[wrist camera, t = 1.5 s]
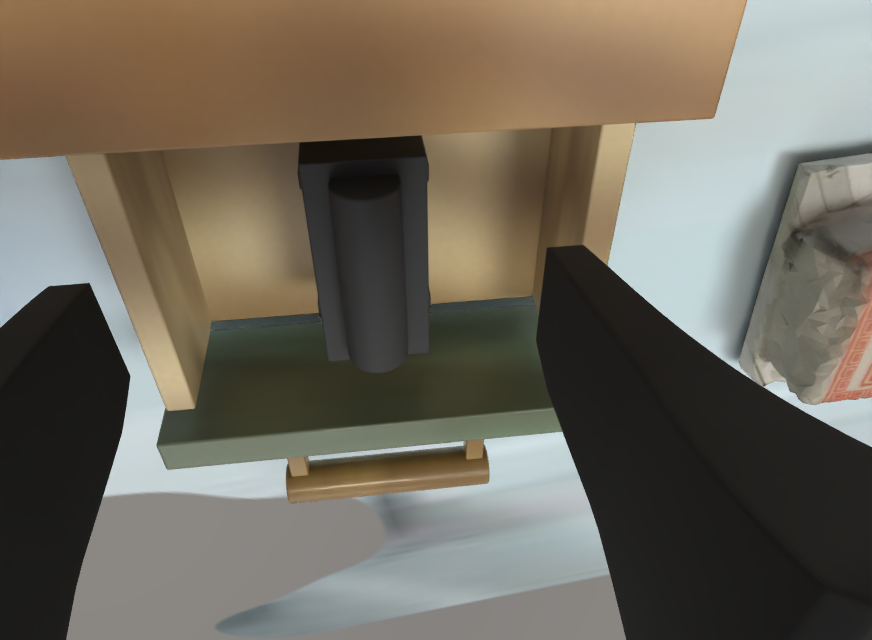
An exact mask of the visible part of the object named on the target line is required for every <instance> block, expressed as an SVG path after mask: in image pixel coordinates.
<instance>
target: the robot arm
mask: <svg viewBox="0 0 872 640" xmlns="http://www.w3.org/2000/svg"><path fill="white" fill-rule="evenodd" d="M536 343H537V348H538V352H539V357H540V361H541V366H542V370H543V374H544V378H545V382H546V386H547V390H548V394H549V396H550V399H551V402H552V405H553V407H554V410H555V413H556V415H557V418H558V421H559V423H560V426H561V429H562V432H563V434H564V437H565V439H566V442H567V445H568V447H569V450H570V453H571V455H572V458H573V460H574V463H575V466H576V468H577V471H578V474H579V476H580V479H581V482H582V484H583V487H584V489H585V492H586V495H587V497H588V500H589V503H590V506H591V509H592V512H593V515H594V518H595V521H596V524H597V527H598V530H599V534H600V537H601V541H602V545H603V549H604V553H605V556H606V560H607V564H608V568H609V572H610V575H611V579H612V583H613V587H614V591H615V595H616V599H617V603H618V607H619V611H620V615H621V620H622V624H623V627H624V632H625V636H626V640H872V447H870V446H868V445H866V444H864V443H862V442H860V441H858V440H856V439H854V438H852V437H850V436H848V435H846V434H844V433H843V432H841V431H839V430H837V429H835V428H833V427H831V426H830V425H828V424H826V423H824V422H822V421H820V420H818V419H817V418H815V417H813V416H811V415H809V414H807V413H805V412H804V411H802V410H800V409H798V408H797V407H795V406H793V405H792V404H790V403H788V402H786V401H785V400H783V399H781V398H780V397H778V396H776V395H775V394H773V393H772V392H770V391H769V390H767V389H765V388H764V387H762V386H761V385H759V384H758V383H756V382H754V381H753V380H751V379H750V378H748V377H747V376H745V375H743V374H742V373H740V372H739V371H737V370H736V369H734V368H733V367H731V366H730V365H729V364H727V363H726V362H724V361H723V360H721V359H720V358H719V357H717V356H716V355H715V354H713V353H712V352H711V351H709V350H708V349H707V348H705V347H704V346H702V345H701V344H700V343H698V342H697V341H696V340H694V339H693V338H692V337H690V336H689V335H688V334H687V333H685V332H684V331H683V330H681V329H680V328H679V327H678V326H676V325H675V324H674V323H673V322H671V321H670V320H669V319H668V318H667V317H665V316H664V315H663V314H662V313H660V312H659V311H658V310H657V309H656V308H655V307H653V306H652V305H651V304H650V303H649V302H647V301H646V300H645V299H644V298H643V297H642V296H641V295H639V294H638V293H637V292H636V291H635V290H634V289H633V288H631V287H630V286H629V285H628V284H627V283H626V282H625V281H624V280H622V279H621V278H620V277H619V276H618V275H617V274H616V273H615V272H614V271H612V270H611V269H610V268H609V267H608V266H607V265H606V264H605V263H604V262H602V261H601V260H600V259H599V258H598V257H597V256H596V255H595V254H594V253H592V252H591V251H590V250H589V249H588V248H587V247H586V246H584V245H573V246H560V247H547V250H546V258H545V266H544V275H543V283H542V292H541V300H540V309H539V317H538V325H537V334H536ZM129 382H130V374H129V372H128V370H127V367H126V365H125V363H124V360H123V358H122V356H121V354H120V351H119V349H118V347H117V345H116V342H115V340H114V338H113V335H112V333H111V331H110V329H109V326H108V324H107V322H106V320H105V317H104V315H103V313H102V310H101V308H100V306H99V304H98V301H97V299H96V297H95V295H94V292H93V290H92V288H91V285H90V283H85V284H72V285H60V286H49V287H47V288H46V289H45V290H43V291H42V292H41V293H40V294H38V295H37V296H36V297H35V298H34V299H32V300H31V301H30V302H29V303H28V304H27V305H25V306H24V307H23V308H22V309H21V310H20V311H19V312H17V313H16V314H15V315H14V316H13V317H12V318H11V319H10V320H8V321H7V322H6V323H5V324H4V325H3V326H2V327H1V328H0V640H66V637H67V632H68V626H69V621H70V616H71V611H72V605H73V600H74V594H75V590H76V585H77V582H78V578H79V574H80V570H81V566H82V562H83V559H84V556H85V552H86V549H87V546H88V543H89V539H90V536H91V533H92V530H93V526H94V523H95V520H96V517H97V514H98V510H99V507H100V504H101V501H102V497H103V494H104V491H105V488H106V485H107V481H108V478H109V475H110V471H111V468H112V465H113V461H114V458H115V455H116V451H117V448H118V445H119V441H120V438H121V434H122V429H123V423H124V417H125V411H126V405H127V397H128V390H129Z"/></svg>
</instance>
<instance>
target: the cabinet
mask: <svg viewBox="0 0 872 640" xmlns="http://www.w3.org/2000/svg"><path fill="white" fill-rule="evenodd" d="M746 3H747V0H0V160H2V159H20V158H37V157H54V156H72V155H89V154H106V153H124V152H141V151H159V150H176V149H193V148H211V147H228V146H245V145H263V144H280V143H297V142H315V141H332V140H350V139H367V138H384V137H402V136H419V135H436V134H454V133H471V132H489V131H506V130H523V129H541V128H558V127H575V126H593V125H610V124H627V123H645V122H662V121H680V120H697V119H712V118H714V116H715V113H716V110H717V106H718V103H719V99H720V95H721V92H722V88H723V85H724V81H725V78H726V74H727V71H728V67H729V63H730V60H731V56H732V53H733V49H734V46H735V42H736V38H737V35H738V31H739V28H740V24H741V21H742V17H743V13H744V10H745V6H746Z"/></svg>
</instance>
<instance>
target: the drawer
mask: <svg viewBox="0 0 872 640" xmlns="http://www.w3.org/2000/svg"><path fill="white" fill-rule="evenodd" d="M635 126H636V123H627V124H610V125H593V126H575V127H558V128H541V129H523V130H506V131H489V132H471V133H454V134H436V135H422V136H423V141H424V145H425V150H426V154H427V159H428V163H429V181H428V182H427V198H428V269H429V289H430V295H431V304H440V303H452V302H465V301H478V300H490V299H503V298H516V297H528V296H532V297H533V300H534V303H535V305H524V306H512V307H500V308H487V309H475V310H462V311H450V312H437V313H429V341H430V351H429V353H422V354H410V355H407V357H406V359H405V361H404V362H403V363H402V364H401V365H400V366H399V367H397V368H395V369H393V370H391V371H388V372H383V373H371V372H366V371H363V370H361V369H359V368H357V367H356V366H355V365H354V364H353V363H352V362H351V360H340V361H328V359H327V352H326V346H325V339H324V333H323V326H322V322H312V323H300V324H287V325H275V326H262V327H250V328H237V329H225V330H212V331H210V330H211V325H212V321H224V320H237V319H250V318H262V317H275V316H288V315H300V314H313V313H319V311H318V293H317V287H316V280H315V274H314V267H313V261H312V254H311V248H310V241H309V234H308V228H307V221H306V215H305V208H304V202H303V195H302V190H301V189H300V188H299V181H298V175H297V171H298V156H299V142H297V143H280V144H263V145H245V146H228V147H211V148H193V149H176V150H159V151H141V152H124V153H106V154H89V155H72V156H66V159H67V161H68V164H69V166H70V169H71V171H72V174H73V176H74V179H75V181H76V184H77V186H78V189H79V191H80V194H81V196H82V199H83V201H84V204H85V206H86V209H87V211H88V214H89V216H90V219H91V222H92V224H93V227H94V229H95V232H96V234H97V237H98V239H99V242H100V244H101V247H102V249H103V252H104V254H105V257H106V259H107V262H108V264H109V267H110V269H111V272H112V274H113V277H114V279H115V282H116V284H117V287H118V289H119V292H120V294H121V297H122V299H123V302H124V304H125V307H126V309H127V312H128V314H129V317H130V319H131V322H132V324H133V327H134V329H135V332H136V334H137V337H138V339H139V342H140V344H141V347H142V349H143V352H144V354H145V357H146V359H147V362H148V364H149V367H150V369H151V372H152V374H153V377H154V379H155V382H156V384H157V387H158V389H159V392H160V394H161V397H162V399H163V402H164V404H165V407H166V408H165V412H164V416H163V420H162V424H161V429H160V433H159V437H158V441H157V448H158V450H159V452H160V455H161V457H162V459H163V462H164V464H165V466H166V468H167V469H169V470H170V469H180V468H191V467H201V466H211V465H222V464H232V463H242V462H253V461H263V460H273V459H284V458H287V459H288V464H287V468H286V489H287V496H288V500H289V503H291V504H292V503H302V502H312V501H321V500H332V499H342V498H351V497H361V496H371V495H381V494H390V493H400V492H410V491H420V490H429V489H439V488H449V487H459V486H468V485H478V484H487V483H488V482H489V462H488V455H487V450H486V447H485V445H484V444H483V443H484V439H490V438H501V437H511V436H521V435H532V434H542V433H552V432H562V429H561V426H560V423H559V421H558V418H557V415H556V413H555V410H554V407H553V405H552V402H551V399H550V396H549V394H548V390H547V386H546V382H545V378H544V374H543V370H542V366H541V361H540V357H539V352H538V348H537V343H536V334H537V325H538V317H539V309H540V300H541V292H542V283H543V275H544V266H545V258H546V250H547V247H560V246H573V245H584V246H586V247H587V248H588V249H589V250H590V251H591V252H592V253H594V254H595V255H596V256H597V257H598V258H599V259H600V260H601V261H602V262H604V263H605V264H606V265H608V260H609V255H610V250H611V245H612V240H613V235H614V230H615V225H616V220H617V215H618V210H619V205H620V200H621V195H622V190H623V185H624V180H625V175H626V170H627V165H628V160H629V155H630V150H631V145H632V141H633V136H634V131H635ZM459 441H464V446H456V447H446V448H436V449H425V450H415V451H405V452H395V453H384V454H374V455H364V456H353V457H343V458H333V459H323V460H312V461H309V458H308V456H315V455H325V454H335V453H346V452H356V451H366V450H377V449H387V448H397V447H408V446H418V445H428V444H439V443H449V442H459Z"/></svg>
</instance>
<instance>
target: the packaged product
mask: <svg viewBox="0 0 872 640" xmlns="http://www.w3.org/2000/svg"><path fill="white" fill-rule="evenodd" d="M739 364H740V366H741V368H742V369H743V370H744V371H745V372H746V373H747V374H748V375H749V376H750V377H751V378H752V379H753V380H754V381H755V382H756V383H758V384H759V385H761V386H762V387H764V386H766V385H767V384H769V383H772V382H774V381H781V382H787V384H788V387H789V390H790V392H793V393H796V395H797V397H798V399H799V400H800V401H801V402H802V403H806V404H811V405H816V404H820V403H824V402H835V401H841V400H847V399H848V400H857V399H859V398H870V397H872V153H869V154H862V155H854V156H847V157H840V158H833V159H826V160H819V161H811V162H804V163H799V165H798V168H797V171H796V175H795V178H794V181H793V184H792V187H791V191H790V194H789V197H788V200H787V203H786V207H785V210H784V213H783V216H782V219H781V222H780V226H779V229H778V232H777V235H776V238H775V242H774V245H773V248H772V251H771V254H770V258H769V261H768V264H767V267H766V270H765V273H764V277H763V280H762V283H761V286H760V290H759V293H758V297H757V300H756V304H755V307H754V310H753V314H752V317H751V321H750V324H749V327H748V331H747V334H746V338H745V341H744V345H743V348H742V351H741V355H740V358H739Z"/></svg>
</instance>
